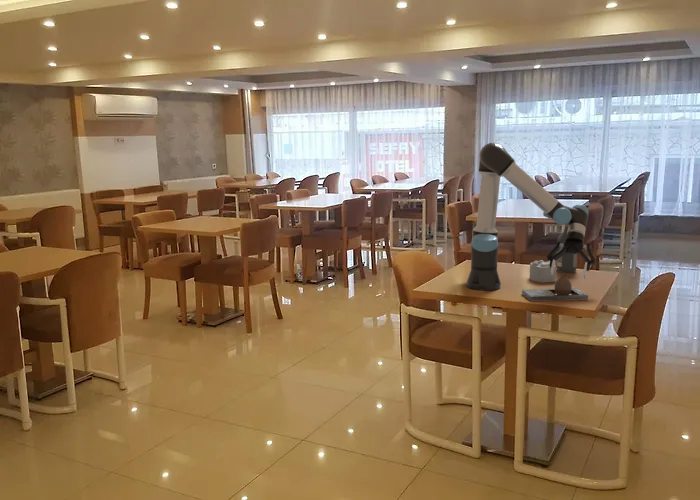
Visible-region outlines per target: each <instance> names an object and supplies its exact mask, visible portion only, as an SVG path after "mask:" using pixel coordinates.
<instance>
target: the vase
mask: <svg viewBox="0 0 700 500" xmlns="http://www.w3.org/2000/svg"><path fill="white" fill-rule="evenodd" d="M554 289H555V293H556V294H557V295H569V294H570V293H571V290H572V289H573V288H572V283H571V281H570V279H569V278H568V276H567V275H565V274H561V275H559V278H557V280H556V281H555V282H554Z"/></svg>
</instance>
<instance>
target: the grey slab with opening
mask: <svg viewBox="0 0 700 500" xmlns="http://www.w3.org/2000/svg"><path fill="white" fill-rule="evenodd" d="M521 295H522V296H523V297H525V298H526V299H528V301H530V302H551V301H552V302H557V301H589V294H587V293H585V292H583V291H582V290H580V289H578V288H572V290H571V293H570V294H569V295H557V294H556V293H555V288H537V289H535V288H533V289H521Z"/></svg>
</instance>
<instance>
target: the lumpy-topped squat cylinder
mask: <svg viewBox="0 0 700 500" xmlns="http://www.w3.org/2000/svg"><path fill="white" fill-rule="evenodd" d="M556 279H557V268H556V264H555V268H554V272H553V275H551V268H550V261H548V260H547V261H544V260H543V259H540V260H534V261H533V262H530V265H529V280H531V281H533V282H537V283H551V282H553V283H555V282H556V281H557V280H556Z"/></svg>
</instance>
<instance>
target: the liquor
mask: <svg viewBox="0 0 700 500" xmlns="http://www.w3.org/2000/svg"><path fill="white" fill-rule="evenodd" d="M568 226H569V224H565V225H564V229H563V231H562V232H561V233H560V234H559V235H558V236H557V243H558V242H560V243H563V244H564V243H565V241H566V236H567V231H568ZM563 248H564V247H562V248H560V249H559V251H558V252H560V251H561V250H562V249H563ZM558 252H557V253H558ZM557 253H556V254H557ZM577 264H578V253H576V254H573V253H571V254H569V253H567V254H564V255H563V256H561V257H560V258H559V259H557V260H556V261H555V265H556V271H557V272H558V273H571V274H573V273H576V271H577Z"/></svg>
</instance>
